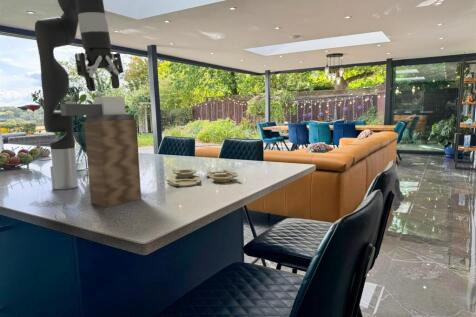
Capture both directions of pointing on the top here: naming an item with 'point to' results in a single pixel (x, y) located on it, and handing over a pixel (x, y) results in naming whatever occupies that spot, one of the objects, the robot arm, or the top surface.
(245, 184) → the top surface
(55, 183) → the robot arm
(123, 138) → the wood-grain topped box
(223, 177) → the tableware set
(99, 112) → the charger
